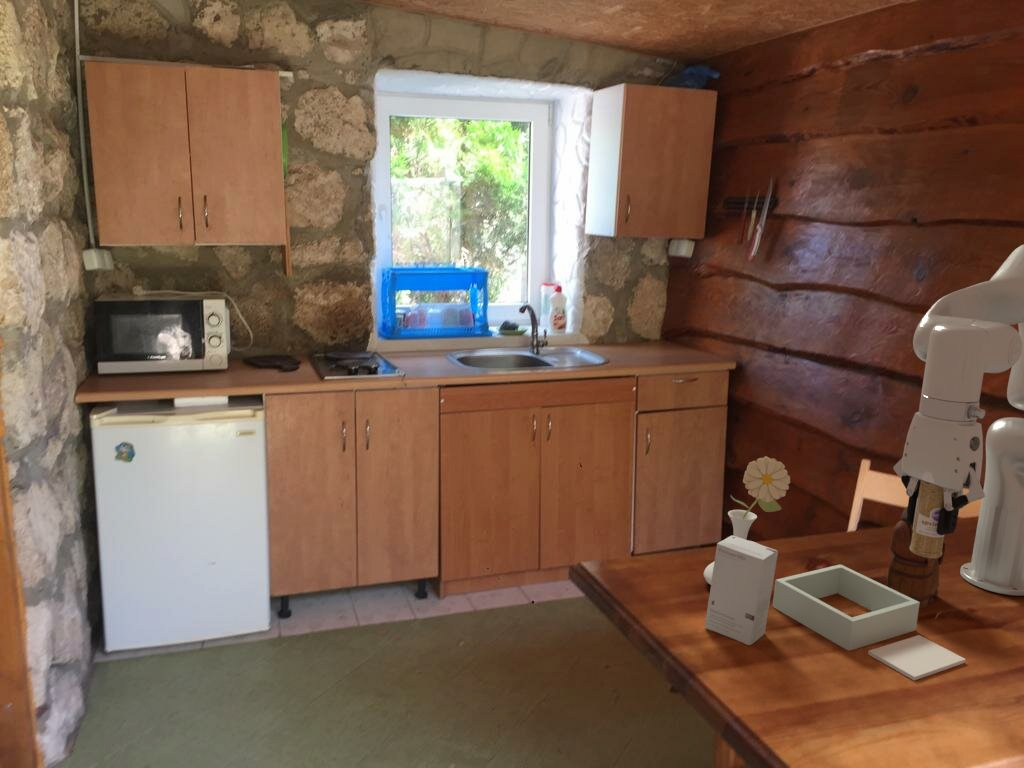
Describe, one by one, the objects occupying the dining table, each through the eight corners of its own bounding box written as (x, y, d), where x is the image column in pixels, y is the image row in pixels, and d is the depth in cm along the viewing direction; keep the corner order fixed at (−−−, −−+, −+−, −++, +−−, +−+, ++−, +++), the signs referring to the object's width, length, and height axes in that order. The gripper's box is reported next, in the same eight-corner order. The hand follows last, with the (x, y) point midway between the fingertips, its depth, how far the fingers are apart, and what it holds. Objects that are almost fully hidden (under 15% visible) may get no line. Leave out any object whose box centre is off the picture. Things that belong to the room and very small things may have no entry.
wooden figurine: (914, 614, 142) (930, 515, 139) (878, 600, 147) (892, 504, 143) (944, 596, 150) (960, 502, 146) (909, 583, 155) (923, 491, 151)
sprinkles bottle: (922, 560, 123) (935, 473, 120) (902, 547, 127) (914, 463, 125) (949, 558, 124) (963, 472, 121) (928, 546, 128) (941, 463, 125)
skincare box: (704, 629, 134) (712, 542, 131) (721, 616, 139) (729, 532, 136) (753, 648, 129) (763, 558, 126) (769, 634, 134) (779, 547, 131)
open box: (836, 590, 151) (840, 564, 150) (915, 630, 137) (919, 602, 136) (772, 606, 143) (775, 579, 142) (848, 650, 129) (852, 621, 128)
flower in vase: (697, 592, 147) (710, 457, 142) (708, 568, 158) (720, 441, 152) (774, 608, 143) (790, 469, 137) (779, 582, 153) (795, 452, 148)
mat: (918, 638, 134) (919, 635, 134) (965, 662, 128) (965, 659, 127) (868, 654, 129) (868, 650, 129) (914, 680, 122) (914, 676, 122)
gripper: (1020, 421, 115) (999, 544, 119) (914, 394, 130) (898, 505, 134) (987, 425, 112) (966, 552, 116) (881, 398, 127) (866, 511, 130)
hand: (930, 526), depth 125 cm, fingers closed on sprinkles bottle, 4 cm apart
